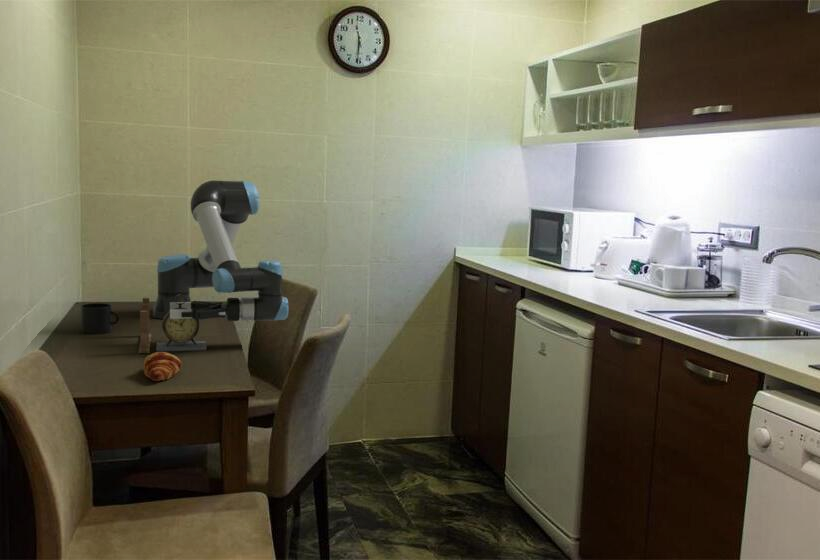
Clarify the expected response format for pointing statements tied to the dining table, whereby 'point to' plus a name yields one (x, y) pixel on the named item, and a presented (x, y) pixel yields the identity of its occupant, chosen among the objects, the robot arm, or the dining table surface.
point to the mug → (97, 318)
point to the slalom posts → (145, 328)
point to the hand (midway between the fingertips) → (169, 310)
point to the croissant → (161, 366)
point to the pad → (181, 346)
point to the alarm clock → (180, 327)
